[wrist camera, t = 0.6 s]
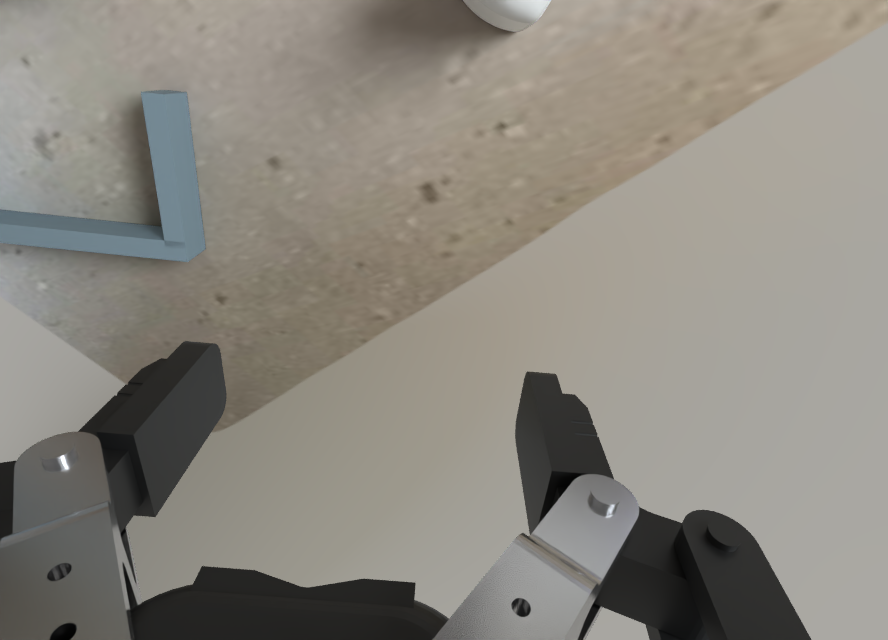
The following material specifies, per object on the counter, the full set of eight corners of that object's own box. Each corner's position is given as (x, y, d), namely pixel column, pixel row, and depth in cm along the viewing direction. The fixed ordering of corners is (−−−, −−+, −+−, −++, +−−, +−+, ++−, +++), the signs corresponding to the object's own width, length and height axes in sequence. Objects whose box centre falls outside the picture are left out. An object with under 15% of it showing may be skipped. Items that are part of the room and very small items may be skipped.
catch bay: (-93, 61, 34) (-139, 60, 31) (186, 92, 35) (164, 94, 32) (-37, 224, 39) (-72, 235, 37) (205, 248, 40) (187, 261, 37)
